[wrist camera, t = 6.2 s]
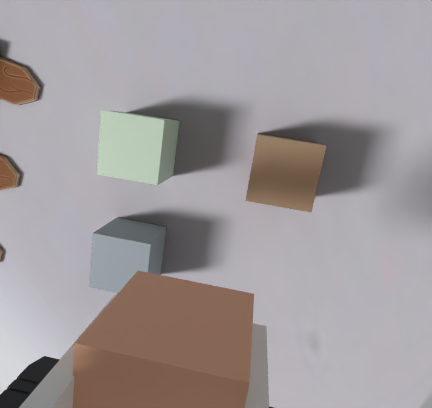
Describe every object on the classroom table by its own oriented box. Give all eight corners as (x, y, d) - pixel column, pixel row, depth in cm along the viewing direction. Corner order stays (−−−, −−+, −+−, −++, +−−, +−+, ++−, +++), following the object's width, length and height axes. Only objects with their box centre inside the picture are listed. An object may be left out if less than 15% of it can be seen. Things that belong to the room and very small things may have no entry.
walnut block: (257, 133, 29) (257, 134, 24) (315, 142, 29) (326, 145, 24) (247, 188, 30) (245, 200, 26) (302, 198, 30) (311, 212, 25)
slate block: (117, 217, 33) (92, 233, 28) (167, 226, 32) (150, 244, 28) (113, 264, 34) (89, 287, 29) (161, 273, 34) (144, 298, 29)
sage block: (126, 112, 30) (100, 109, 25) (179, 120, 30) (164, 120, 25) (121, 166, 32) (96, 174, 27) (173, 175, 31) (157, 185, 26)
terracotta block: (137, 270, 14) (74, 342, 9) (254, 294, 14) (249, 383, 9) (127, 369, 16) (67, 478, 11) (234, 393, 15) (221, 520, 10)
